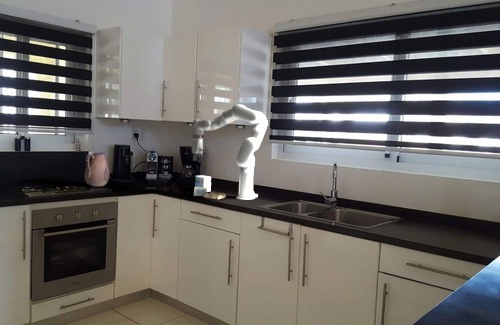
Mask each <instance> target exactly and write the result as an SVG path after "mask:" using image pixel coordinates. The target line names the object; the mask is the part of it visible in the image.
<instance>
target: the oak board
mask: <svg viewBox="0 0 500 325" xmlns="http://www.w3.org/2000/svg"><path fill="white" fill-rule="evenodd" d="M226 196H227V195H226V193H221V192H214V191H213V192H212V191H210V193H207V194H205V196H203V198H205V199H206V198H207V199H214V200H220V199H224V198H226Z"/></svg>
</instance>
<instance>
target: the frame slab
mask: <svg viewBox="0 0 500 325" xmlns="http://www.w3.org/2000/svg"><path fill="white" fill-rule="evenodd" d="M193 191H194V192H193V197H194V196H197V197H204V196H205V194H208V192H209V191H208V188H206V187H195V186H194V190H193Z"/></svg>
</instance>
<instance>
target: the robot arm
mask: <svg viewBox="0 0 500 325" xmlns="http://www.w3.org/2000/svg"><path fill="white" fill-rule="evenodd" d="M237 120H242V121H245V122H246V123H249V124H252V125H253V124H254V126H253V129H252V130H251V133H250V135H249V137H247V138H245V139H244V140H243V141H242V143H241V145H240V148H239V150H238V153H237V155H236V158H235V161H236V164H237V166H238V167H239V168H240V169H239V180H238V181H239V184H238V195H236V199H238V200H246V201H247V200H249V201H250V200H254V199H256V198H258V196H259V195H258V193H255V191H254V173H255V171H254V170H255V165H256V164H255V163H256V158H255V155H254V152H256V151H258V150H259V148H260V146H261V143H262V141H263V139H264V136H265V133H266V131H267V128H268V120H267V117H266V115H265V114H264V113H263V112H261V111H259V110H253V109H251V108H248V107H246V105H243V104H239V103H238V104H235V105H233V106H232V107H231V108H230V109H228V110H225V111H223V112H222V113H221V115H219V116H217V117H215V118H213V119H197V118H196V119H193V121H192V142H191V143H192V144H191V153H192V162H193V161H194V162H195V161H196V162H197V163H202V162H203V152H204V145H203V142H204V141H203V140H204V131H215V130H217V129H220V128H222V127H224V126H226V125H228V124H231V123H233V122H235V121H237Z"/></svg>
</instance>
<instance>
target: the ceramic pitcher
mask: <svg viewBox="0 0 500 325" xmlns="http://www.w3.org/2000/svg"><path fill="white" fill-rule="evenodd" d="M85 165H86V167H85V169H84V170H85V171H84V180H85V182H86V184H87V185H89V186H90V187H94V188H95V187H104V186H105V185H107V183H108V182H109V179H110V170H109V166H108V164H107V160H106V152H101V151H99V152H95V151H90V152H88V154H86V156H85Z"/></svg>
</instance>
